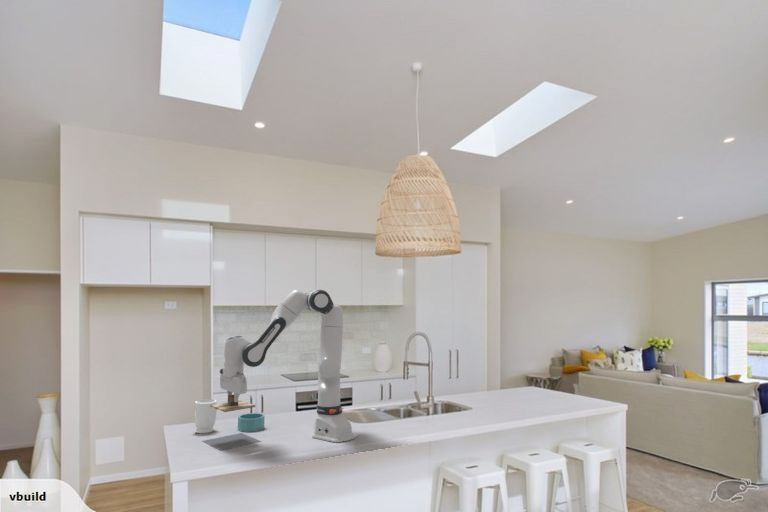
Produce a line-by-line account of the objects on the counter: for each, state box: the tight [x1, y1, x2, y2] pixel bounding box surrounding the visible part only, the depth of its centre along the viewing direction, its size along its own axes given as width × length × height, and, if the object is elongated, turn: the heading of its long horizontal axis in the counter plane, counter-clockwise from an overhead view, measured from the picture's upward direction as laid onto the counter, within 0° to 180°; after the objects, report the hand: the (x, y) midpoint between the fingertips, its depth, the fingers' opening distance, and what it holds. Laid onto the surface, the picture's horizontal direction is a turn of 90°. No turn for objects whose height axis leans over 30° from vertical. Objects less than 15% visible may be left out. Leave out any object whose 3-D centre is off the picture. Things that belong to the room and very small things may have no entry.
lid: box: [210, 394, 256, 413], centre depth 225 cm, size 15×15×5 cm
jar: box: [194, 398, 218, 434], centre depth 243 cm, size 11×10×15 cm
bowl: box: [237, 412, 265, 433], centre depth 247 cm, size 13×13×6 cm
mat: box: [201, 432, 263, 452], centre depth 224 cm, size 20×20×1 cm
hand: (233, 401), depth 225 cm, fingers closed on lid, 3 cm apart
